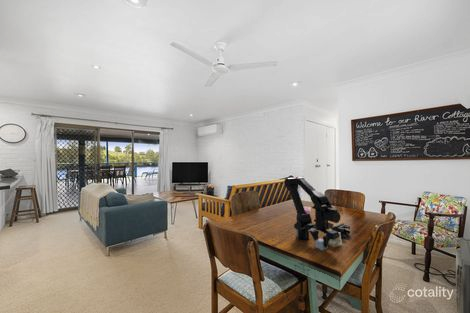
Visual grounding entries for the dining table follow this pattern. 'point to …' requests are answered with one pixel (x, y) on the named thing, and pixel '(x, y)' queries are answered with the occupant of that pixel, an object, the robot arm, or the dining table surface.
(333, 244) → the tower base
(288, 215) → the dining table surface
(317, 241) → the blue block
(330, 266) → the dining table surface
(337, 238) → the tower top
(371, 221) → the dining table surface
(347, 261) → the dining table surface
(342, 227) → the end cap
